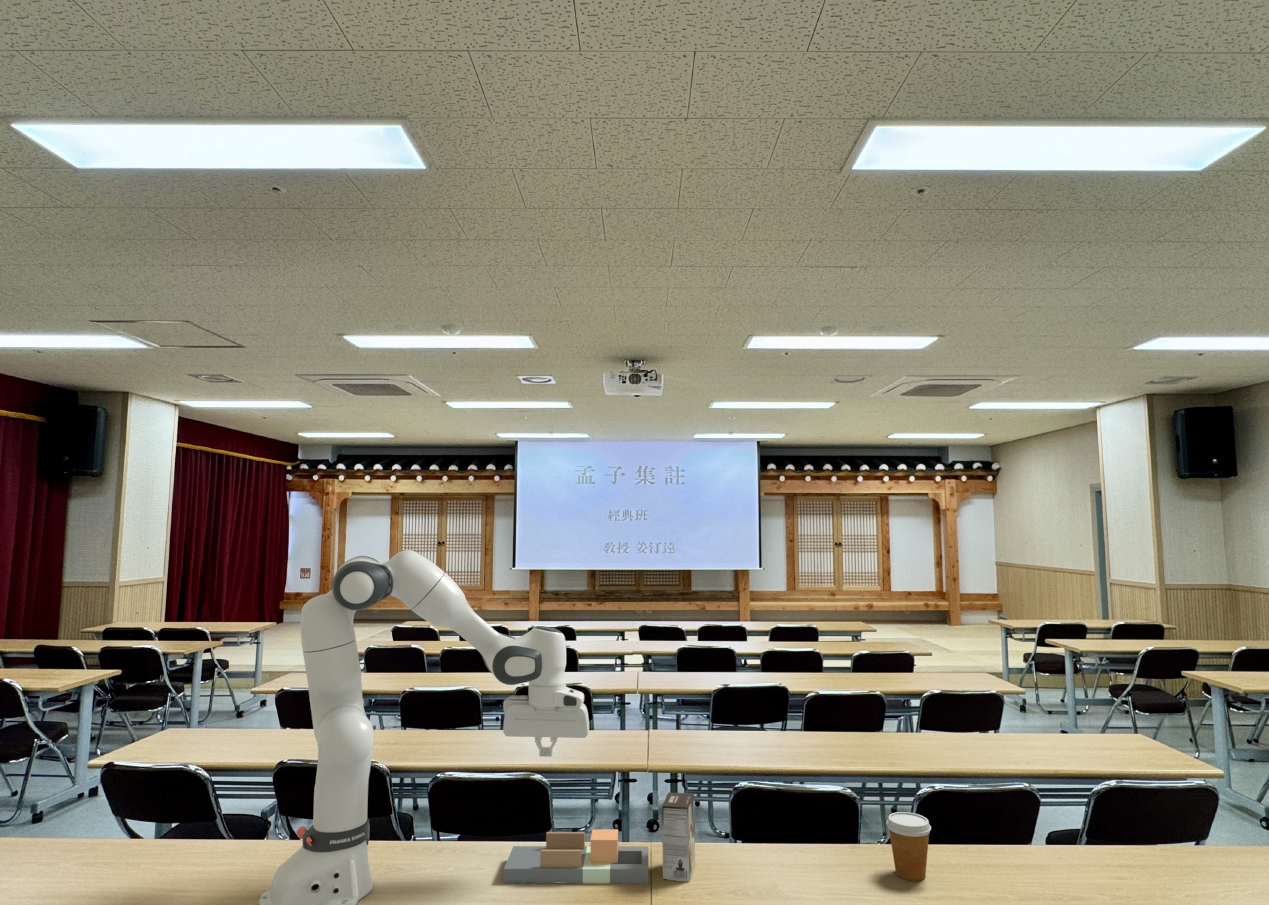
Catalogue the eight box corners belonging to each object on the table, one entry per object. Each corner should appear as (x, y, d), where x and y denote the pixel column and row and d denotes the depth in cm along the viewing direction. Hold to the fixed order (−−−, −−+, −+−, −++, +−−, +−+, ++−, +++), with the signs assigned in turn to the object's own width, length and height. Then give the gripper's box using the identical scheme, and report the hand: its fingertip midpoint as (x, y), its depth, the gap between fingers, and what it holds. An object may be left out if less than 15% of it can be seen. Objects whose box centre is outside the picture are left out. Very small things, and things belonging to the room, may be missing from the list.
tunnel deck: (503, 883, 168) (504, 852, 168) (513, 859, 180) (513, 830, 180) (648, 883, 167) (648, 852, 168) (648, 859, 179) (648, 830, 180)
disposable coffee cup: (882, 865, 176) (880, 811, 177) (923, 865, 176) (921, 811, 177) (896, 884, 166) (894, 827, 167) (940, 884, 166) (937, 827, 167)
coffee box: (668, 862, 178) (667, 791, 179) (695, 864, 176) (694, 792, 178) (662, 880, 169) (661, 805, 170) (690, 882, 168) (689, 807, 169)
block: (590, 863, 171) (590, 839, 171) (592, 851, 177) (592, 829, 177) (617, 863, 171) (617, 839, 171) (618, 851, 177) (618, 829, 177)
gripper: (501, 697, 178) (499, 758, 177) (587, 699, 177) (587, 760, 176) (506, 692, 184) (504, 751, 183) (590, 693, 184) (589, 752, 182)
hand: (545, 755), depth 179 cm, fingers closed
